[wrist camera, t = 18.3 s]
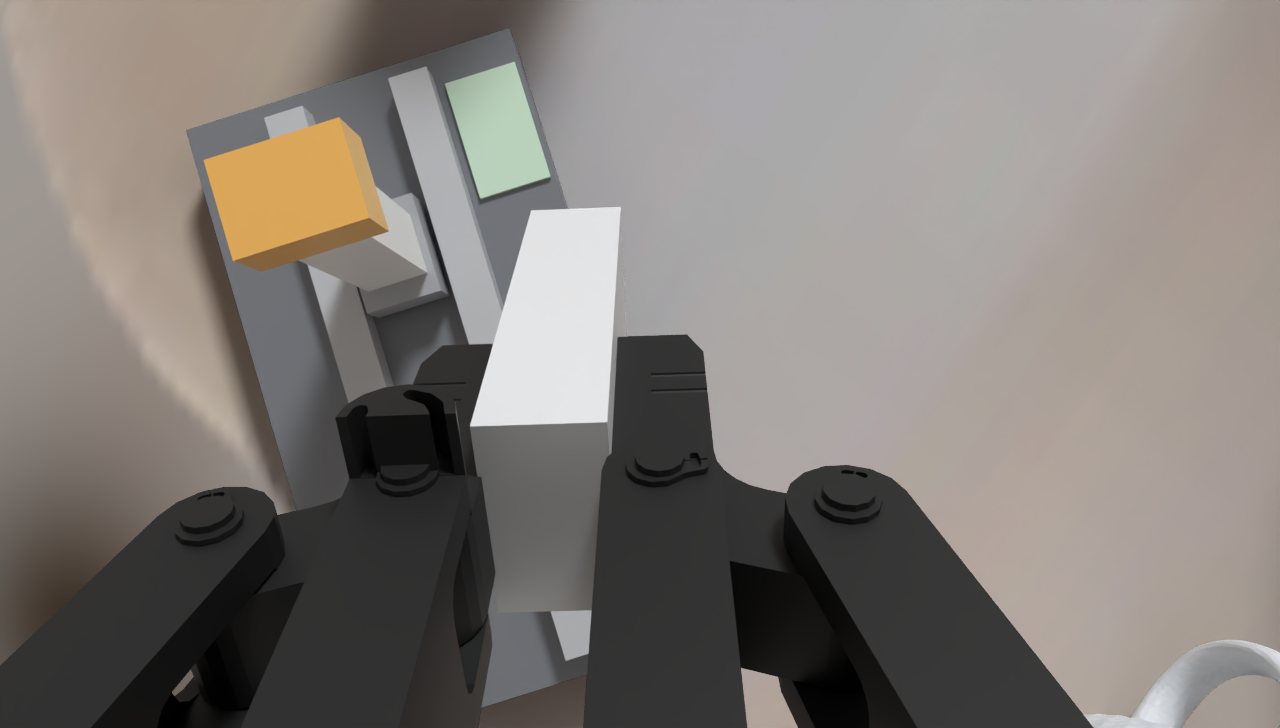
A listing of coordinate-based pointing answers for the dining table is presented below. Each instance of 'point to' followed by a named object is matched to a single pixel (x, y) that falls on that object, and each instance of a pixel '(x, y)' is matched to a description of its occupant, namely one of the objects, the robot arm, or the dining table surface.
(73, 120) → the dining table surface
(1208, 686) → the mug
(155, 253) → the dining table surface
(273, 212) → the lever
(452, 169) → the switch panel
